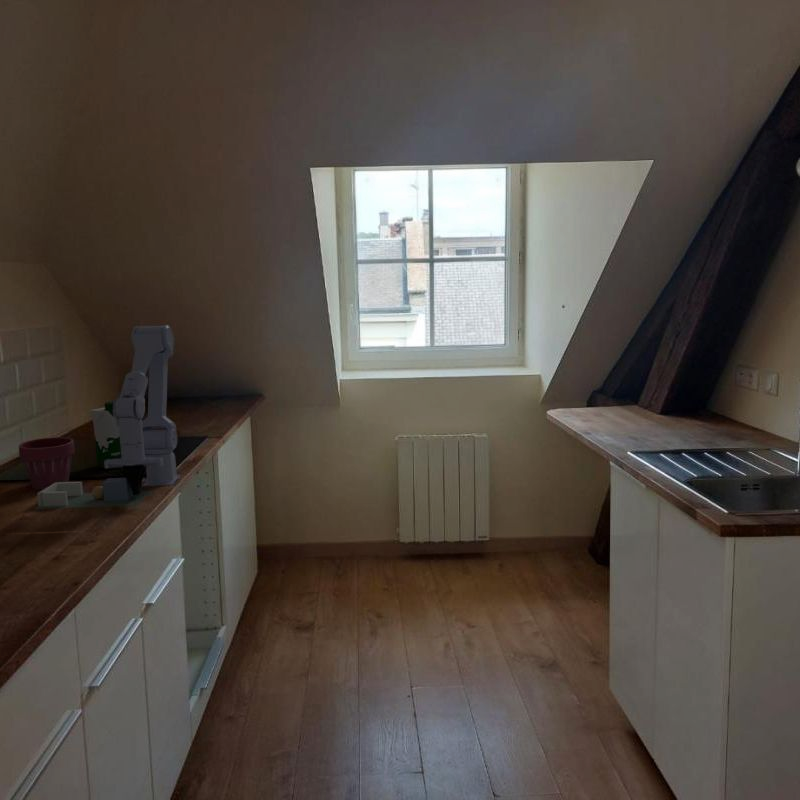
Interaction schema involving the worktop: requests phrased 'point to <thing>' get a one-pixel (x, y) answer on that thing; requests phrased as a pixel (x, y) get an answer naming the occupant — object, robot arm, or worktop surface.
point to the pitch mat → (99, 501)
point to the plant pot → (47, 460)
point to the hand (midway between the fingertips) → (136, 493)
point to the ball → (98, 492)
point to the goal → (59, 493)
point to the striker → (117, 489)
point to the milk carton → (106, 434)
